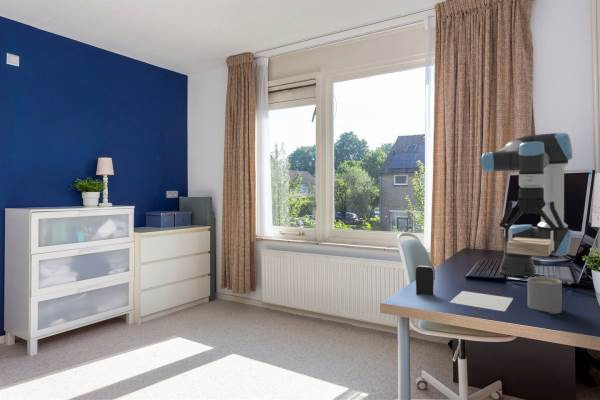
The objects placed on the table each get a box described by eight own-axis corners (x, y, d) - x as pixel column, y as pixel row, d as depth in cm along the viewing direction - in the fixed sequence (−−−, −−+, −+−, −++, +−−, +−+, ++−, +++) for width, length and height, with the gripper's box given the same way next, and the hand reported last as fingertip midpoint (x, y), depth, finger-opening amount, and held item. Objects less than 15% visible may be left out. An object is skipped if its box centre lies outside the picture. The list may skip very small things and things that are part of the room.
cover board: (515, 246, 146) (515, 237, 146) (553, 249, 139) (553, 239, 139) (506, 252, 134) (506, 242, 134) (548, 256, 126) (548, 245, 126)
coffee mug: (564, 315, 127) (564, 284, 127) (528, 311, 132) (529, 282, 131) (557, 303, 140) (557, 275, 139) (525, 300, 144) (525, 273, 143)
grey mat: (462, 292, 155) (462, 290, 155) (513, 299, 145) (513, 298, 145) (449, 303, 141) (449, 302, 141) (504, 313, 130) (504, 311, 130)
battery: (435, 294, 153) (435, 265, 152) (433, 297, 150) (433, 267, 149) (417, 292, 157) (417, 264, 156) (415, 294, 153) (415, 265, 153)
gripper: (490, 187, 140) (490, 247, 141) (572, 186, 125) (572, 253, 126) (495, 186, 146) (495, 244, 147) (574, 186, 131) (573, 250, 132)
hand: (530, 248), depth 136 cm, fingers closed on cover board, 12 cm apart
